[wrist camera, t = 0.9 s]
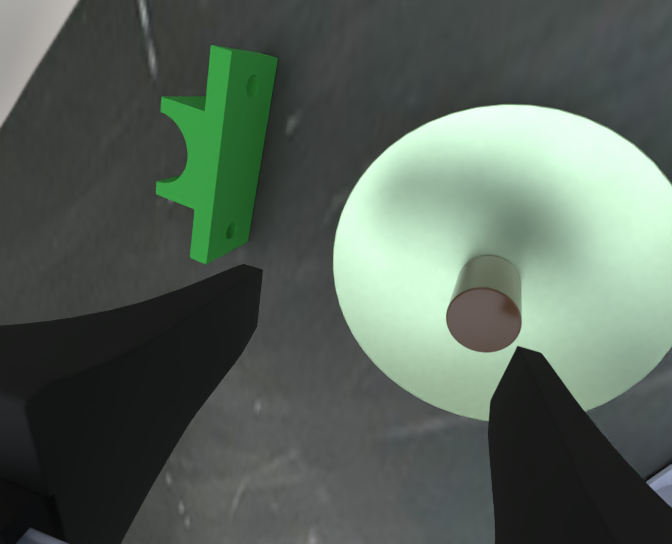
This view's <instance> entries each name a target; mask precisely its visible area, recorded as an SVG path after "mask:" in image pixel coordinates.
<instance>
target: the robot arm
mask: <svg viewBox="0 0 672 544" xmlns="http://www.w3.org/2000/svg"><path fill="white" fill-rule="evenodd" d="M262 274H263V270H262V269H259V268H255V267H252V266H248V265H245V264H242V265H239V266H236V267H233V268H231V269H229V270H226V271H224V272H221V273H219V274H216V275H214V276H212V277H209V278H207V279H204V280H202V281H199V282H197V283H194V284H192V285H190V286H187V287H184V288H182V289H179V290H176V291H173V292H170V293H167V294H165V295H162V296H159V297H156V298H153V299H150V300H147V301H143V302H140V303H137V304H133V305H129V306H125V307H121V308H117V309H113V310H109V311H104V312H99V313H93V314H88V315H83V316H78V317H73V318H66V319H59V320H52V321H44V322H35V323H26V324H15V325H1V326H0V544H121V542H122V540H123V538H124V536H125V534H126V533H127V531H128V529H129V527H130V525H131V523H132V521H133V520H134V518H135V516H136V514H137V512H138V510H139V509H140V507H141V505H142V503H143V501H144V500H145V498H146V496H147V494H148V492H149V491H150V489H151V487H152V485H153V483H154V482H155V480H156V478H157V477H158V475H159V473H160V471H161V470H162V468H163V466H164V465H165V463H166V461H167V459H168V458H169V456H170V454H171V453H172V451H173V449H174V448H175V446H176V444H177V443H178V441H179V439H180V438H181V436H182V435H183V433H184V431H185V430H186V428H187V426H188V425H189V423H190V422H191V420H192V419H193V418H194V416H195V415H196V413H197V412H198V410H199V409H200V408H201V407H202V405H203V404H204V403H205V401H206V400H207V399H208V397H209V396H210V395H211V394H212V392H213V391H214V390H215V388H216V387H217V386H218V384H219V383H220V382H221V380H222V379H223V378H224V377H225V375H226V374H227V373H228V371H229V370H230V369H231V367H232V366H233V365H234V363H235V362H236V361H237V359H238V358H239V357H240V355H241V354H242V352H243V351H244V349H245V347H246V345H247V344H248V342H249V340H250V338H251V337H252V335H253V333H254V331H255V329H256V327H257V322H258V312H259V303H260V293H261V283H262ZM488 441H489V455H490V468H491V480H492V492H493V504H494V516H495V544H672V464H671V465H669V466H668V467H666V468H665V469H663V470H662V471H661V472H659V473H658V474H656V475H655V476H653V477H652V478H651V479H649V480H648V481H646V482H645V481H644V480H643V479H642V478H641V477H640V475H639V474H638V473H637V472H636V471H635V470H634V469H633V468H632V467H631V466H630V465H629V464H628V463H627V462H626V461H625V460H624V458H623V457H622V456H621V455H620V454H619V453H618V452H617V451H616V449H615V448H614V447H613V446H612V445H611V443H610V442H609V441H608V440H607V439H606V437H605V436H604V435H603V434H602V433H601V431H600V430H599V429H598V428H597V427H596V425H595V424H594V423H593V422H592V420H591V419H590V418H589V416H588V415H587V414H586V413H585V411H584V410H583V409H582V407H581V406H580V405H579V403H578V402H577V401H576V399H575V398H574V397H573V395H572V394H571V392H570V391H569V390H568V388H567V387H566V386H565V384H564V383H563V381H562V380H561V379H560V377H559V376H558V374H557V373H556V372H555V370H554V369H553V367H552V366H551V365H550V363H549V362H548V361H547V359H546V358H545V357H544V355H543V354H542V353H540V352H537V351H534V350H530V349H527V348H524V347H520V346H517V348H516V350H515V352H514V354H513V356H512V358H511V360H510V362H509V364H508V366H507V368H506V370H505V372H504V374H503V376H502V378H501V380H500V382H499V384H498V386H497V388H496V390H495V392H494V394H493V396H492V398H491V400H490V411H489V427H488Z"/></svg>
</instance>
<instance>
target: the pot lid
mask: <svg viewBox="0 0 672 544" xmlns="http://www.w3.org/2000/svg"><path fill="white" fill-rule="evenodd" d="M333 275H334V283H335V289H336V293H337V297H338V301H339V305H340V308H341V310H342V313H343V315H344V318H345V321H346V323H347V325H348V327H349V328H350V330H351V332H352V334H353V336H354V338H355V339H356V341H357V342H358V344H359V345H360V346H361V348H362V349H363V351H364V352H365V353H366V355H367V356H368V357H369V358H370V359H371V360H372V362H373V363H374V364H375V365H376V366H377V367H378V368H379V369H380V370H381V371H382V372H383V373H384V374H385V375H387V376H388V377H389V378H390V379H391V380H392V381H394V382H395V383H396V384H398V385H399V386H400V387H402V388H403V389H404V390H406V391H408V392H409V393H411V394H413V395H414V396H416V397H418V398H419V399H421V400H423V401H425V402H427V403H429V404H431V405H433V406H435V407H438V408H440V409H443V410H446V411H448V412H451V413H454V414H457V415H461V416H465V417H469V418H473V419H477V420H483V421H489V411H490V400H491V398H492V396H493V394H494V392H495V390H496V388H497V386H498V384H499V382H500V380H501V378H502V376H503V374H504V372H505V370H506V368H507V366H508V364H509V362H510V360H511V358H512V356H513V354H514V352H515V350H516V348H517V346H520V347H524V348H527V349H530V350H534V351H537V352H540V353H542V354H543V355H544V357H545V358H546V359H547V361H548V362H549V363H550V365H551V366H552V367H553V369H554V370H555V372H556V373H557V374H558V376H559V377H560V379H561V380H562V381H563V383H564V384H565V386H566V387H567V388H568V390H569V391H570V392H571V394H572V395H573V397H574V398H575V399H576V401H577V402H578V403H579V405H580V406H581V407H582V409H583V410H584V411H585V412H586V411H589V410H591V409H593V408H596V407H598V406H601V405H603V404H605V403H607V402H609V401H611V400H612V399H614V398H616V397H618V396H620V395H621V394H623V393H625V392H626V391H627V390H629V389H630V388H631V387H633V386H634V385H636V384H637V383H638V382H640V381H641V380H642V379H643V378H644V377H645V376H646V375H647V374H649V373H650V372H651V371H652V370H653V369H654V368H655V367H656V366H657V365H658V364H659V363H660V361H661V360H662V359H663V357H664V356H665V355H666V354H667V352H668V351H669V350H670V348H671V347H672V183H671V181H670V180H669V179H668V178H667V177H666V175H665V174H664V173H663V172H662V170H661V169H660V168H659V167H658V165H657V164H656V163H655V162H654V161H653V160H652V159H651V158H650V157H649V156H648V155H646V154H645V153H644V152H643V151H642V150H641V149H640V148H639V147H638V146H636V145H635V144H634V143H633V142H631V141H630V140H628V139H627V138H625V137H623V136H622V135H620V134H619V133H617V132H616V131H614V130H613V129H611V128H609V127H607V126H605V125H603V124H601V123H598V122H596V121H594V120H592V119H590V118H588V117H585V116H582V115H579V114H575V113H572V112H569V111H565V110H562V109H559V108H553V107H547V106H541V105H534V104H510V103H503V104H494V105H484V106H477V107H473V108H469V109H464V110H460V111H456V112H452V113H449V114H447V115H444V116H442V117H439V118H436V119H434V120H431V121H429V122H427V123H425V124H423V125H421V126H419V127H418V128H416V129H414V130H412V131H410V132H408V133H407V134H405V135H404V136H403V137H401V138H400V139H398V140H397V141H396V142H394V143H393V144H392V145H390V146H389V147H388V148H387V149H386V150H385V151H383V152H382V153H381V154H380V155H379V156H378V157H377V158H376V159H375V160H374V161H373V162H372V163H371V164H370V166H369V167H368V168H367V169H366V171H365V172H364V173H363V174H362V176H361V177H360V178H359V180H358V181H357V183H356V185H355V186H354V188H353V190H352V191H351V193H350V194H349V196H348V199H347V201H346V203H345V205H344V208H343V210H342V212H341V215H340V219H339V222H338V226H337V229H336V234H335V240H334V247H333Z"/></svg>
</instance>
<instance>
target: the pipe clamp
mask: <svg viewBox="0 0 672 544" xmlns="http://www.w3.org/2000/svg"><path fill="white" fill-rule="evenodd" d="M277 62H278V58H276V57H273V56H269V55H266V54H263V53H258V52H252V51H246V50H239V49H233V48H227V47H221V46H214V45H211V52H210V62H209V72H208V82H207V92H206V96H196V97H161V112H162V113H164V114H166V115H168V116H169V117H170V118H172V119H173V120H174V121H175V122H176V124H177V125H178V126H179V128H180V129H181V131H182V133H183V135H184V138H185V141H186V144H187V151H188V158H187V164H186V168H185V170H184V172H183V174H182V175H181V176H176V177H172V178H168V179H164V180H160V181H157V185H156V194H157V195H160V196H162V197H165V198H167V199H170V200H172V201H175V202H177V203H180V204H182V205H185V206H187V207H190V208H192V209H195V212H194V222H193V232H192V242H191V252H190V258H192V259H195V260H197V261H199V262H202V263H204V264H208V263H210V262H212V261H214V260H215V259H217V258H219V257H221V256H223V255H225V254H226V253H228V252H230V251H232V250H234V249H236V248H237V247H239V246H241V245H243V244H245V243H247V242H248V239H249V233H250V226H251V220H252V214H253V208H254V202H255V196H256V190H257V184H258V178H259V171H260V165H261V159H262V153H263V147H264V141H265V135H266V129H267V123H268V117H269V110H270V104H271V98H272V92H273V86H274V80H275V74H276V68H277Z"/></svg>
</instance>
